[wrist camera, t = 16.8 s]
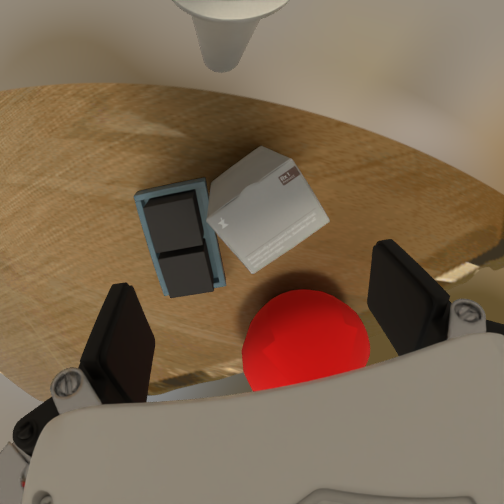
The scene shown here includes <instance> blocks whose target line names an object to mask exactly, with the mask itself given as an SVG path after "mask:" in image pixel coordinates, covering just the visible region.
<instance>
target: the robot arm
mask: <svg viewBox="0 0 504 504" xmlns="http://www.w3.org/2000/svg"><path fill="white" fill-rule="evenodd" d="M226 1H239V0H226ZM449 298H450V296H449V294H448V293H447V292H446V291H445V290H444V289H443V288H442V287H441V286H440V285H439V284H438V283H437V282H436V281H435V280H434V279H433V278H432V277H431V276H430V275H429V274H428V273H427V272H426V271H425V270H424V269H423V268H422V267H421V266H420V265H419V264H418V263H417V262H416V261H415V260H414V259H413V258H411V257H410V256H409V255H408V254H407V253H406V252H405V251H404V250H403V249H402V248H401V247H400V246H399V245H398V244H396V243H395V242H394V241H393V240H392V239H388V240H382V241H378V242H377V244H376V245H375V246H374V247H373V252H372V263H371V273H370V282H369V290H368V298H367V304H368V307H369V309H370V311H371V312H372V314H373V315H374V317H375V318H376V320H377V321H378V323H379V325H380V326H381V328H382V329H383V331H384V332H385V334H386V336H387V337H388V339H389V340H390V342H391V344H392V345H393V347H394V348H395V350H396V352H397V353H398V355H399V357H395V358H392V359H389V360H386V361H383V362H380V363H376V364H373V365H369V366H366V367H363V368H359V369H355V370H352V371H348V372H344V373H340V374H336V375H332V376H328V377H324V378H320V379H316V380H311V381H307V382H302V383H297V384H293V385H288V386H282V387H277V388H272V389H266V390H260V391H254V392H247V393H241V394H234V395H226V396H218V397H210V398H201V399H190V400H177V401H162V402H146V400H147V393H148V386H149V380H150V373H151V367H152V361H153V355H154V349H155V338H154V335H153V333H152V331H151V328H150V326H149V324H148V322H147V319H146V317H145V315H144V312H143V310H142V307H141V305H140V302H139V300H138V298H137V295H136V292H135V290H134V288H133V286H129V285H128V283H119V284H113V285H112V286H111V288H110V290H109V293H108V295H107V297H106V299H105V301H104V304H103V306H102V308H101V310H100V313H99V315H98V317H97V320H96V322H95V324H94V327H93V329H92V332H91V334H90V336H89V339H88V341H87V344H86V346H85V349H84V352H83V354H82V357H81V359H80V365H79V368H74V367H71V368H66V369H64V370H62V371H61V372H59V373H58V374H57V375H56V376H55V377H54V379H53V381H52V383H51V387H50V391H51V395H52V397H51V398H49V399H48V400H46V401H45V402H44V403H42V404H41V405H40V406H38V407H37V408H35V409H34V410H33V411H31V412H30V413H28V414H27V415H26V416H24V417H23V418H21V419H20V420H19V421H18V422H17V424H16V425H15V427H14V430H13V441H14V442H13V443H11V442H8V444H7V445H6V446H5V447H4V448H3V450H2V451H1V452H0V504H504V324H500V323H496V322H493V321H489V320H486V316H485V312H484V310H483V309H482V307H481V306H480V305H479V304H478V303H476V302H474V301H472V300H469V299H458V300H456V301H454V302H453V303H451V302H450V301H449Z"/></svg>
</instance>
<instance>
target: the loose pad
mask: <svg viewBox="0 0 504 504" xmlns="http://www.w3.org/2000/svg"><path fill="white" fill-rule="evenodd" d="M143 210H144V214H145V217H146V221H147V224H148V228H149V231H150V235H151V238H152V242H153V245H154V248H155V252H156V253H160V252H166V251H171V250H177V249H183V248H188V247H194V246H199V245H203V237H204V229H203V225H202V220H201V215H200V211H199V206H198V201H197V196H196V191H195V189H193V190H188V191H183V192H178V193H173V194H168V195H163V196H159V197H154V198H150V199H149V200H148V202H147V203H146V205H145V206H144V208H143Z"/></svg>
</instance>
